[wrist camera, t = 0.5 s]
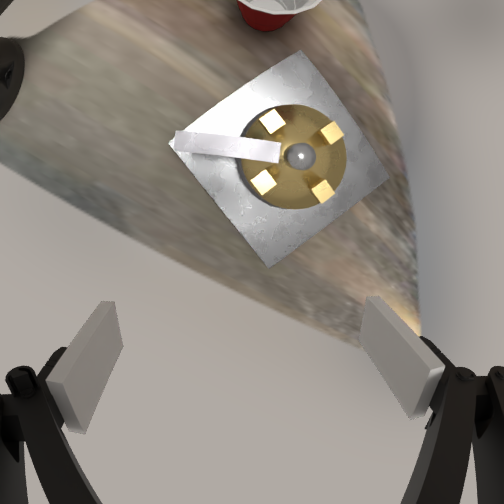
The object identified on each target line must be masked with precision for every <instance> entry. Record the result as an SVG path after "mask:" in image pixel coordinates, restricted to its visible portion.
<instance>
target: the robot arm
mask: <svg viewBox="0 0 504 504" xmlns="http://www.w3.org/2000/svg"><path fill="white" fill-rule="evenodd" d="M12 1H13V0H0V15H1V14H2V13H3V12H4V10H5V9H6V8H7V7H8V6H9V5H10V4H11V3H12ZM23 73H24V56H23V52H22V49H21V47H20V46H19V45H18V44H17V43H16V42H14V41H12V40H10V39H7V38H4V37H0V120H1V119H2V118H3V116H4V115H5V114H6V113H7V111H8V110H9V108H10V107H11V105H12V104H13V102H14V100H15V98H16V96H17V94H18V91H19V88H20V85H21V82H22V78H23ZM359 342H360V343H361V345H362V346H363V348H364V349H365V351H366V352H367V354H368V355H369V356H370V358H371V360H372V361H373V363H374V364H375V366H376V367H377V369H378V370H379V372H380V373H381V375H382V376H383V378H384V379H385V381H386V383H387V384H388V386H389V388H390V389H391V391H392V392H393V394H394V395H395V397H396V398H397V400H398V402H399V403H400V405H401V406H402V408H403V410H404V411H405V413H406V414H407V416H408V418H409V419H410V420H412V419H415V418H419V417H422V416H424V415H425V413H426V411H427V409H428V407H429V406H430V408H431V409H432V410H433V413H432V415H431V417H430V419H429V421H428V423H427V425H426V427H425V429H427V431H426V434H425V438H424V441H423V444H422V448H421V451H420V454H419V457H418V460H417V463H416V465H415V468H414V471H413V474H412V476H411V479H410V482H409V484H408V487H407V489H406V492H405V494H404V497H403V499H402V501H401V504H459V503H460V499H461V495H462V491H463V487H464V482H465V477H466V472H467V467H468V461H469V456H470V450H471V443H472V445H473V453H474V460H475V471H476V481H477V497H478V504H504V367H501V366H494V367H492V368H491V369H490V371H489V373H488V376H476V375H475V373H474V372H473V371H471V370H470V369H467V368H465V367H455V366H454V365H453V364H452V363H451V362H450V360H449V359H448V358H447V357H446V356H445V355H444V354H443V353H441V351H440V350H439V349H438V348H437V347H436V346H435V345H434V344H433V343H432V342H431V341H430V340H428V339H426V338H425V337H423V336H420V337H418V336H417V335H416V334H415V332H414V331H413V330H412V329H411V328H410V327H409V326H408V325H407V324H406V323H405V322H404V321H403V320H402V319H401V318H400V317H399V316H398V315H397V314H396V313H395V312H394V311H393V310H392V309H391V308H390V307H389V306H388V305H387V304H386V303H385V302H384V300H383V299H382V298H381V297H380V296H368V297H366V302H365V308H364V314H363V319H362V325H361V330H360V335H359ZM122 348H123V343H122V338H121V334H120V329H119V323H118V318H117V313H116V307H115V302H108V301H106V302H105V301H101V303H100V304H99V305H98V306H97V308H96V309H95V310H94V312H93V313H92V314H91V316H90V317H89V318H88V320H87V321H86V323H85V324H84V325H83V327H82V328H81V329H80V331H79V332H78V334H77V335H76V336H75V338H74V339H73V341H72V342H71V343H70V345H69V346H68V347H61V348H60V349H58V350H57V351H55V352H54V353H53V354H52V356H51V357H50V359H49V361H47V363H46V364H45V366H44V367H43V368H42V370H41V371H40V373H39V374H38V375H37V376H36V374H35V371H34V370H33V369H32V368H31V367H29V366H19V367H16V368H14V369H12V370H11V371H9V372H8V374H7V375H6V379H5V381H6V383H7V385H8V387H9V389H10V391H11V393H12V394H3V395H1V394H0V504H28V497H27V487H26V476H25V461H24V441H26V445H27V448H28V450H29V453H30V456H31V459H32V462H33V465H34V468H35V470H36V473H37V475H38V478H39V480H40V483H41V485H42V488H43V490H44V492H45V494H46V497H47V499H48V501H49V503H50V504H102V503H101V501H100V499H99V498H98V496H97V495H96V493H95V491H94V490H93V488H92V486H91V485H90V483H89V481H88V479H87V478H86V476H85V474H84V472H83V471H82V469H81V467H80V465H79V463H78V461H77V459H76V458H75V456H74V454H73V452H72V450H71V448H70V446H69V444H68V442H67V440H66V437H65V435H64V433H63V432H62V430H61V428H62V426H63V423H64V422H65V424H66V426H67V428H68V430H69V431H70V432H75V433H80V434H86V431H87V428H88V426H89V424H90V421H91V419H92V416H93V414H94V411H95V409H96V406H97V404H98V402H99V400H100V397H101V395H102V392H103V390H104V388H105V386H106V383H107V381H108V379H109V376H110V374H111V372H112V370H113V368H114V365H115V363H116V361H117V359H118V357H119V355H120V352H121V350H122Z"/></svg>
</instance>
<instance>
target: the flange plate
mask: <svg viewBox="0 0 504 504" xmlns="http://www.w3.org/2000/svg"><path fill="white" fill-rule="evenodd" d="M289 104H297V105H304V106H308V107H311V108H313V109H316V110H318V111H320V112H321V113H323V114H324V115H326V116H327V117H328V118H329V119H330V120H331V121H335V122H336V124H337V125H338V127H339V128H340V130H341V131H342V133H343V134H344V136H342V138H343V140H344V143H345V147H346V156H347V161H346V168H345V173H344V175H343V178H342V180H341V182H340V184H339V186H338V187H337V189H336V190H335V191H334V192H335V194H334V195H333V196H331V197H330V198H329V199H327V200H326V201H325V202H323V203H322V204H321V203H319V204H317V205H315V206H312V207H309V208H305V209H286V208H281V207H278V206H275V205H273V204H271V203H269V202H267V201H266V200H264V199H263V198H262V197H261V196H259V195H258V194H257V193H256V191H255V190H254V189H253V188H252V187H251V185H250V184H249V182H248V181H247V179H246V177H245V175H244V172H243V169H242V165H241V158H235V157H227V156H218V155H209V154H199V153H188V152H177V151H175V152H176V153H177V155H178V156H179V157H180V158H181V160H182V161H183V162H184V163H185V165H186V166H187V167H188V168H189V170H190V171H191V172H192V173H193V175H194V176H195V177H196V178H197V180H198V181H199V182H200V183H201V185H202V186H203V187H204V188H205V190H206V191H207V192H208V193H209V195H210V196H211V197H212V198H213V200H214V201H215V202H216V203H217V205H218V206H219V207H220V208H221V210H222V211H223V212H224V213H225V215H226V216H227V217H228V218H229V220H230V221H231V222H232V223H233V225H234V226H235V227H236V228H237V230H238V231H239V232H240V233H241V235H242V236H243V237H244V238H245V240H246V241H247V242H248V243H249V245H250V246H251V247H252V248H253V250H254V251H255V252H256V253H257V255H258V256H259V257H260V258H261V260H262V261H263V262H264V263H265V265H266V266H267V267H268V268H271V267H272V266H273V265H275V264H276V263H277V262H279V261H280V260H281V259H283V258H284V257H285V256H287V255H288V254H290V253H291V252H292V251H294V250H295V249H296V248H298V247H299V246H300V245H302V244H303V243H304V242H306V241H307V240H308V239H310V238H311V237H312V236H314V235H315V234H316V233H318V232H319V231H320V230H322V229H323V228H324V227H326V226H327V225H328V224H330V223H331V222H332V221H334V220H335V219H336V218H338V217H339V216H340V215H341V214H343V213H344V212H345V211H347V210H348V209H349V208H351V207H352V206H353V205H355V204H356V203H357V202H359V201H360V200H361V199H362V198H364V197H365V196H366V195H368V194H369V193H370V192H372V191H373V190H374V189H375V188H377V187H378V186H379V185H381V184H382V183H383V182H385V181H386V180H387V179H388V178H390V177H389V175H388V174H387V172H386V170H385V169H384V167H383V165H382V164H381V162H380V160H379V159H378V157H377V155H376V154H375V152H374V150H373V149H372V147H371V146H370V144H369V142H368V141H367V139H366V138H365V136H364V135H363V133H362V132H361V130H360V128H359V127H358V125H357V124H356V122H355V121H354V120H353V118H352V117H351V115H350V114H349V112H348V111H347V109H346V108H345V107H344V105H343V104H342V102H341V101H340V99H339V98H338V97H337V95H336V94H335V93H334V91H333V90H332V89H331V87H330V86H329V85H328V83H327V82H326V81H325V79H324V78H323V77H322V75H321V74H320V73H319V71H318V70H317V69H316V68H315V66H314V65H313V64H312V63H311V61H310V60H309V59H308V58H307V56H306V55H305V54H304V53H303V52H302V50H299V51H298V52H296V53H294V54H293V55H291V56H289V57H288V58H286V59H284V60H283V61H281V62H279V63H278V64H276V65H275V66H273V67H271V68H270V69H268V70H267V71H265V72H264V73H262V74H261V75H259V76H257V77H256V78H254V79H253V80H251V81H250V82H248V83H247V84H245V85H244V86H243V87H241V88H240V89H238V90H237V91H235V92H234V93H232V94H231V95H230V96H228V97H227V98H225V99H224V100H223V101H221V102H220V103H218V104H217V105H216V106H214V107H213V108H212V109H210V110H209V111H208V112H206V113H205V114H204V115H202V116H201V117H200V118H198V119H197V120H196V121H195V122H193V123H192V124H191V125H189V126H188V127H187V128H186V129H184V130H183V131H189V132H200V133H210V134H220V135H229V136H237V137H245V135H246V133H247V131H248V130H249V128H250V127H251V125H252V124H253V123H254V122H255V121H256V120H257V118H259V117H260V116H261V115H262V114H264V113H265V112H267V111H268V110H270V109H273V108H275V107H278V106H282V105H289ZM174 140H175V137H174V138H173V139H172V140H171V141H170V142H168V143H169V145H170V146H171V147H172V148H174Z"/></svg>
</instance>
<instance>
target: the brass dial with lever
mask: <svg viewBox="0 0 504 504" xmlns="http://www.w3.org/2000/svg"><path fill="white" fill-rule="evenodd" d="M342 136H344V134H343V133H342V131H341V130H340V128H339V127H338V125H337V124H336V122H335V121H331V120H330V119H329V118H328V117H327V116H326V115H324V114H323V113H321V112H320V111H318V110H316V109H313V108H311V107H308V106H304V105H297V104H289V105H282V106H278V107H275V108H273V109H270V110H268V111H267V112H265V113H264V114H262V115H261V116H260V117H259V118H257V120H256V121H255V122H254V123H253V124H252V125H251V127H250V128H249V130H248V131H247V133H246V135H245V137H237V136H229V135H220V134H210V133H200V132H189V131H177V130H176V132H175V140H174V148H173V151H177V152H188V153H199V154H209V155H218V156H227V157H235V158H241V165H242V169H243V172H244V175H245V177H246V179H247V181H248V182H249V184H250V185H251V187H252V188H253V189H254V190H255V191H256V193H257V194H258V195H259V196H261V197H262V198H263V199H264V200H266V201H267V202H269V203H271V204H273V205H275V206H278V207H281V208H286V209H305V208H309V207H312V206H315V205H317V204H319V203H321V204H322V203H323V202H325V201H326V200H327V199H329V198H330V197H331V196H333V195H334V194H335V192H334V191H335V190H336V189H337V187H338V186H339V184H340V182H341V180H342V178H343V175H344V173H345V168H346V161H347V156H346V147H345V143H344V140H343V138H342Z"/></svg>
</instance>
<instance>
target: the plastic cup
mask: <svg viewBox="0 0 504 504" xmlns="http://www.w3.org/2000/svg"><path fill="white" fill-rule="evenodd" d="M320 1H322V0H237V3H238V6H239V9H240V11H241V13H242V16H243V18H244V19H245V21H246V22H247V24H248V25H250V26H251V27H253V28H254V29H257V30H260V31H273V30H276V29H278V28H280V27H282V26H283V25H284V24H285V23H286V22H288V21H289V20H290V19H291V18H293V17H294V16H295V15H296V14H297V13H299V12H302V11H305V10H308V9H311V8H314V7H315V6H316V5H317V4H318V3H319V2H320Z"/></svg>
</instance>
